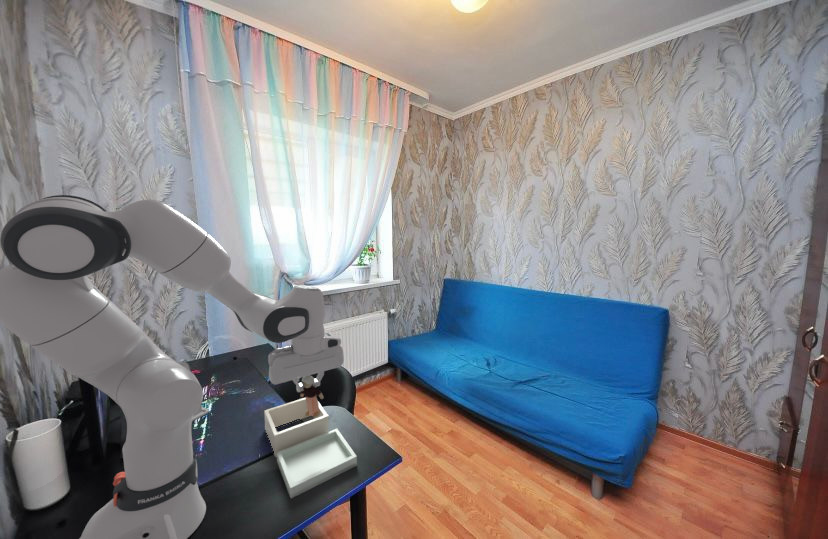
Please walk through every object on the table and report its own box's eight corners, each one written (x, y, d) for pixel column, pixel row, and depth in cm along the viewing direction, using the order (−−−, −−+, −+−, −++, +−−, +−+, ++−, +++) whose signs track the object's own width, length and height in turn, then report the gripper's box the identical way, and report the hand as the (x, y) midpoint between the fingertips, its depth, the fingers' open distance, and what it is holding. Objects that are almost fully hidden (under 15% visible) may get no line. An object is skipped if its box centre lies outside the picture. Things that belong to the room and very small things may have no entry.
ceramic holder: (275, 457, 86) (274, 435, 85) (265, 430, 97) (264, 410, 96) (328, 435, 96) (328, 415, 95) (313, 412, 107) (313, 394, 106)
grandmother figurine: (299, 418, 86) (290, 380, 83) (305, 409, 90) (297, 372, 87) (325, 418, 85) (317, 379, 82) (329, 408, 89) (322, 371, 86)
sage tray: (290, 498, 74) (290, 488, 73) (276, 461, 85) (276, 452, 84) (356, 465, 85) (356, 456, 84) (337, 436, 96) (337, 428, 95)
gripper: (270, 355, 74) (272, 405, 77) (346, 338, 87) (345, 382, 89) (264, 346, 79) (266, 394, 81) (337, 332, 92) (336, 373, 94)
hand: (308, 388), depth 85 cm, fingers open, 3 cm apart
